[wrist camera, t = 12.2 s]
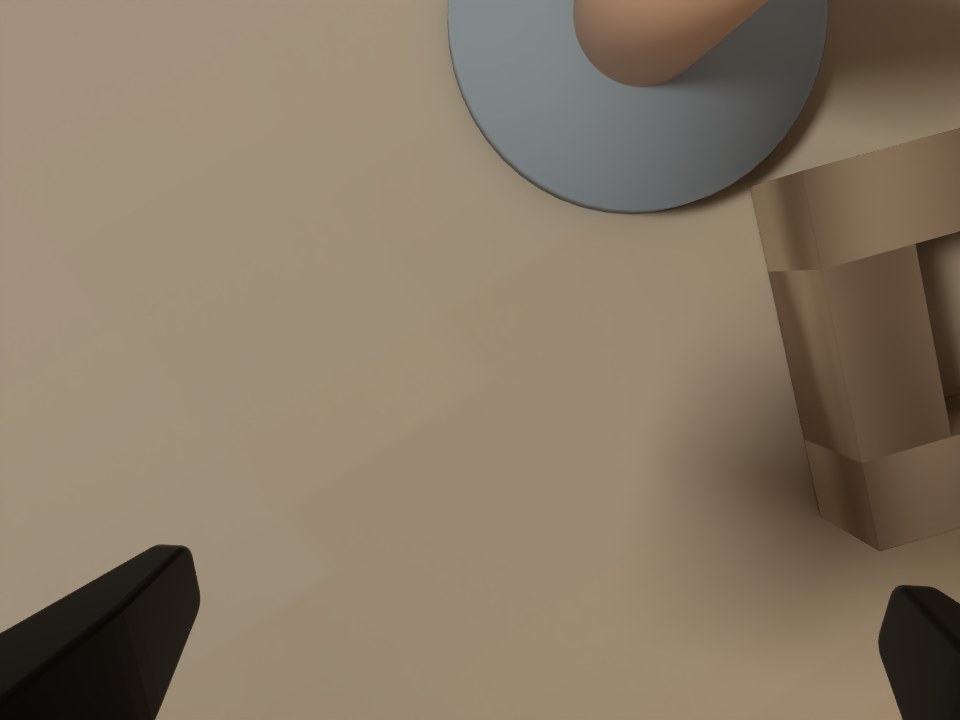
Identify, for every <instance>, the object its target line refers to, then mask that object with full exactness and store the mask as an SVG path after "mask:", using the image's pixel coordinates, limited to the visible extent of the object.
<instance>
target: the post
mask: <svg viewBox="0 0 960 720" xmlns="http://www.w3.org/2000/svg"><path fill="white" fill-rule="evenodd" d="M767 1H768V0H574V5H573V20H574V27H575V32H576V36H577V39H578V42H579V44H580V46H581V48H582V50H583V52H584V54H585V55H586V57H587V58H588V60H589V61H590V62H591V63H592V64H593V66H594V67H596V68H597V69H598V70H599V71H600V72H601V73H603V74H604V75H605V76H607V77H608V78H610V79H612V80H614V81H616V82H619V83H622V84H624V85H629V86H634V87H650V86H656V85H660V84H663V83H666V82H668V81H670V80H672V79H674V78H676V77H678V76H679V75H680V74H682V73H683V72H685V71H686V70H687V69H688V68H689V67H690V66H692V65H693V64H694V63H695V62H696V61H698V60H699V59H700V58H701V57H702V56H703V55H705V54H706V53H707V52H708V51H709V50H710V49H712V48H713V47H714V46H715V45H716V44H718V43H719V42H720V41H721V40H722V39H723V38H725V37H726V36H727V35H728V34H729V33H730V32H732V31H733V30H734V29H735V28H736V27H738V26H739V25H740V24H741V23H742V22H743V21H745V20H746V19H747V18H748V17H749V16H750V15H752V14H753V13H754V12H755V11H756V10H758V9H759V8H760V7H761V6H762V5H763V4H765V3H766V2H767Z"/></svg>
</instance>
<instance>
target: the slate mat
mask: <svg viewBox="0 0 960 720" xmlns="http://www.w3.org/2000/svg"><path fill="white" fill-rule="evenodd" d="M573 5H574V0H449V4H448V36H449V48H450V54H451V59H452V64H453V69H454V73H455V76H456V79H457V82H458V85H459V88H460V91H461V94H462V97H463V99H464V101H465V104H466V106H467V108H468V110H469V112H470V114H471V116H472V118H473V120H474V122H475V123H476V125H477V126H478V128H479V129H480V131H481V132H482V134H483V136H484V137H485V139H486V140H487V141H488V143H489V144H490V145H491V146H492V147H493V149H494V150H495V151H496V152H497V153H498V154H499V156H500V157H501V158H502V159H503V160H504V161H505V162H506V163H507V164H508V165H509V166H511V167H512V168H513V169H514V170H515V171H516V172H517V173H518V174H519V175H521V176H522V177H523V178H525V179H526V180H528V181H529V182H531V183H532V184H533V185H535V186H536V187H538V188H539V189H541V190H543V191H545V192H547V193H549V194H551V195H553V196H554V197H556V198H558V199H560V200H563V201H566V202H569V203H571V204H574V205H577V206H580V207H583V208H588V209H592V210H597V211H602V212H609V213H623V214H634V213H650V212H655V211H660V210H665V209H670V208H675V207H678V206H681V205H684V204H687V203H690V202H693V201H696V200H699V199H702V198H704V197H707V196H710V195H712V194H714V193H716V192H718V191H720V190H722V189H724V188H726V187H728V186H730V185H731V184H733V183H734V182H736V181H737V180H738V179H740V178H741V177H743V176H744V175H746V174H747V173H749V172H750V171H751V170H752V169H754V168H755V167H756V166H757V165H758V164H759V163H760V162H761V161H763V160H764V159H765V158H766V157H767V156H768V155H769V154H770V153H771V152H772V151H773V150H774V148H775V147H776V146H777V145H778V144H779V143H780V142H781V140H782V139H783V138H784V137H785V136H786V134H787V133H788V131H789V130H790V128H791V127H792V125H793V124H794V122H795V121H796V119H797V118H798V116H799V115H800V113H801V111H802V109H803V107H804V105H805V103H806V101H807V99H808V97H809V95H810V93H811V90H812V88H813V85H814V82H815V79H816V77H817V74H818V71H819V68H820V64H821V59H822V55H823V51H824V46H825V40H826V31H827V22H828V0H768V1H767V2H766V3H765V4H763V5H762V6H761V7H760V8H759V9H758V10H756V11H755V12H754V13H753V14H752V15H750V16H749V17H748V18H747V19H746V20H745V21H743V22H742V23H741V24H740V25H739V26H738V27H736V28H735V29H734V30H733V31H732V32H730V33H729V34H728V35H727V36H726V37H725V38H723V39H722V40H721V41H720V42H719V43H718V44H716V45H715V46H714V47H713V48H712V49H710V50H709V51H708V52H707V53H706V54H705V55H703V56H702V57H701V58H700V59H699V60H698V61H696V62H695V63H694V64H693V65H692V66H690V67H689V68H688V69H687V70H686V71H685V72H683V73H682V74H680V75H679V76H678V77H676V78H674V79H672V80H670V81H668V82H666V83H663V84H660V85H656V86H650V87H634V86H629V85H624V84H622V83H619V82H616V81H614V80H612V79H610V78H608V77H607V76H605V75H604V74H603V73H601V72H600V71H599V70H598V69H597V68H596V67H594V66H593V64H592V63H591V62H590V61H589V60H588V58H587V57H586V55H585V54H584V52H583V50H582V48H581V46H580V44H579V42H578V39H577V36H576V32H575V27H574V20H573Z"/></svg>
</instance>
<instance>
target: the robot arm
mask: <svg viewBox="0 0 960 720" xmlns="http://www.w3.org/2000/svg"><path fill="white" fill-rule="evenodd" d="M199 606H200V590H199V586H198V581H197V576H196V571H195V566H194V561H193V557H192V553H191V551H190V550H189V549H188V548H187V547H185V546H181V545H163V544H162V545H156V546H153V547H151V548H149V549H148V550H146V551H144V552H142V553H141V554H139V555H137V556H135V557H134V558H132V559H130V560H128V561H127V562H125V563H123V564H121V565H120V566H118V567H116V568H114V569H113V570H111V571H109V572H107V573H106V574H104V575H102V576H100V577H99V578H97V579H95V580H93V581H92V582H90V583H88V584H86V585H84V586H83V587H81V588H79V589H77V590H76V591H74V592H72V593H70V594H69V595H67V596H65V597H63V598H62V599H60V600H58V601H56V602H55V603H53V604H51V605H49V606H48V607H46V608H44V609H42V610H41V611H39V612H37V613H35V614H33V615H32V616H30V617H28V618H26V619H25V620H23V621H21V622H19V623H18V624H16V625H14V626H12V627H11V628H9V629H7V630H5V631H4V632H2V633H0V720H155V719H156V716H157V714H158V712H159V709H160V707H161V705H162V702H163V700H164V697H165V695H166V692H167V689H168V687H169V684H170V682H171V679H172V677H173V674H174V672H175V669H176V667H177V664H178V662H179V659H180V657H181V654H182V652H183V649H184V646H185V644H186V641H187V639H188V636H189V634H190V631H191V629H192V626H193V624H194V621H195V619H196V616H197V613H198V610H199ZM878 644H879V652H880V656H881V659H882V662H883V665H884V668H885V670H886V673H887V676H888V679H889V682H890V685H891V688H892V691H893V693H894V696H895V699H896V702H897V705H898V708H899V711H900V713H901V716H902V719H903V720H960V604H959V603H958V602H956V601H955V600H953V599H952V598H950V597H949V596H947V595H945V594H944V593H942V592H941V591H939V590H937V589H936V588H933V587H928V586H912V585H900V586H897V587H896V588H895V589H894V590H893V591H892V594H891V596H890V599H889V603H888V606H887V609H886V613H885V616H884V619H883V622H882V626H881V629H880V632H879V639H878Z"/></svg>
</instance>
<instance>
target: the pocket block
mask: <svg viewBox="0 0 960 720" xmlns="http://www.w3.org/2000/svg"><path fill="white" fill-rule="evenodd" d="M750 189H751V194H752V199H753V203H754V208H755V213H756V217H757V222H758V227H759V231H760V236H761V241H762V245H763V250H764V254H765V259H766V264H767V268H768V273H769V278H770V282H771V287H772V292H773V296H774V301H775V306H776V310H777V315H778V320H779V324H780V329H781V334H782V338H783V343H784V348H785V352H786V357H787V362H788V366H789V371H790V376H791V380H792V385H793V389H794V394H795V399H796V403H797V408H798V413H799V417H800V422H801V427H802V431H803V436H804V441H805V445H806V450H807V455H808V459H809V464H810V469H811V473H812V478H813V483H814V487H815V492H816V497H817V501H818V506H819V510H820V515H821V517H823V518H824V519H826V520H828V521H829V522H831V523H833V524H834V525H836V526H838V527H840V528H841V529H843V530H845V531H846V532H848V533H850V534H851V535H853V536H855V537H856V538H858V539H860V540H862V541H863V542H865V543H867V544H868V545H870V546H872V547H873V548H875V549H877V550H878V551H883V550H887V549H890V548H893V547H897V546H900V545H903V544H907V543H910V542H913V541H917V540H920V539H923V538H927V537H930V536H934V535H937V534H940V533H944V532H947V531H950V530H954V529H957V528H960V394H959V395H955V396H952V397H949V398H945V399H944V394H943V389H942V384H941V378H940V373H939V367H938V362H937V357H936V351H935V346H934V341H933V335H932V330H931V325H930V319H929V314H928V308H927V303H926V298H925V292H924V287H923V282H922V276H921V271H920V266H919V260H918V255H917V249H916V243H919V242H923V241H927V240H930V239H934V238H937V237H941V236H945V235H948V234H952V233H955V232H959V231H960V128H959V129H955V130H951V131H948V132H944V133H940V134H936V135H933V136H929V137H925V138H922V139H918V140H914V141H911V142H907V143H903V144H900V145H896V146H892V147H889V148H885V149H881V150H878V151H874V152H870V153H867V154H863V155H859V156H856V157H852V158H848V159H845V160H841V161H837V162H834V163H830V164H826V165H823V166H819V167H815V168H812V169H808V170H804V171H801V172H797V173H794V174H791V175H788V176H784V177H781V178H778V179H775V180H771V181H768V182H765V183H762V184H758V185H755V186H752V187H750Z"/></svg>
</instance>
